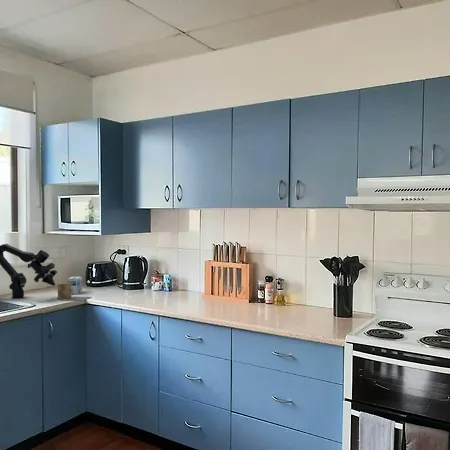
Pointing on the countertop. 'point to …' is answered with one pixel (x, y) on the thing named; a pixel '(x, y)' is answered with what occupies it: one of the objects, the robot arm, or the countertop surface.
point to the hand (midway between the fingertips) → (54, 285)
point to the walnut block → (64, 291)
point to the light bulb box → (75, 284)
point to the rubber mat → (77, 298)
